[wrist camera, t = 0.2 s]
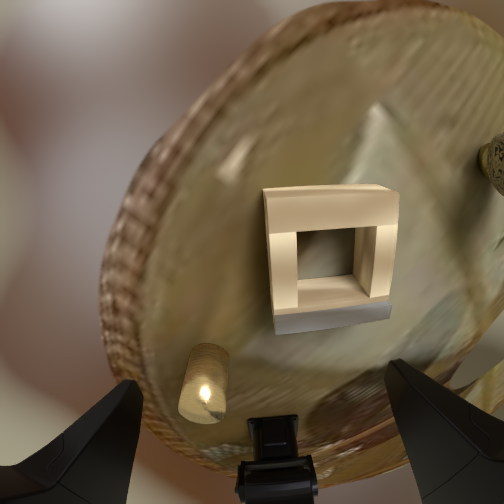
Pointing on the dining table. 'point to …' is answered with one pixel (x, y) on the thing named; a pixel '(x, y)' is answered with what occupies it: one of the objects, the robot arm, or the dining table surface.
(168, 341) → the dining table surface
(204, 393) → the gold metal cylinder
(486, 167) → the cup
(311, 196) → the jig
